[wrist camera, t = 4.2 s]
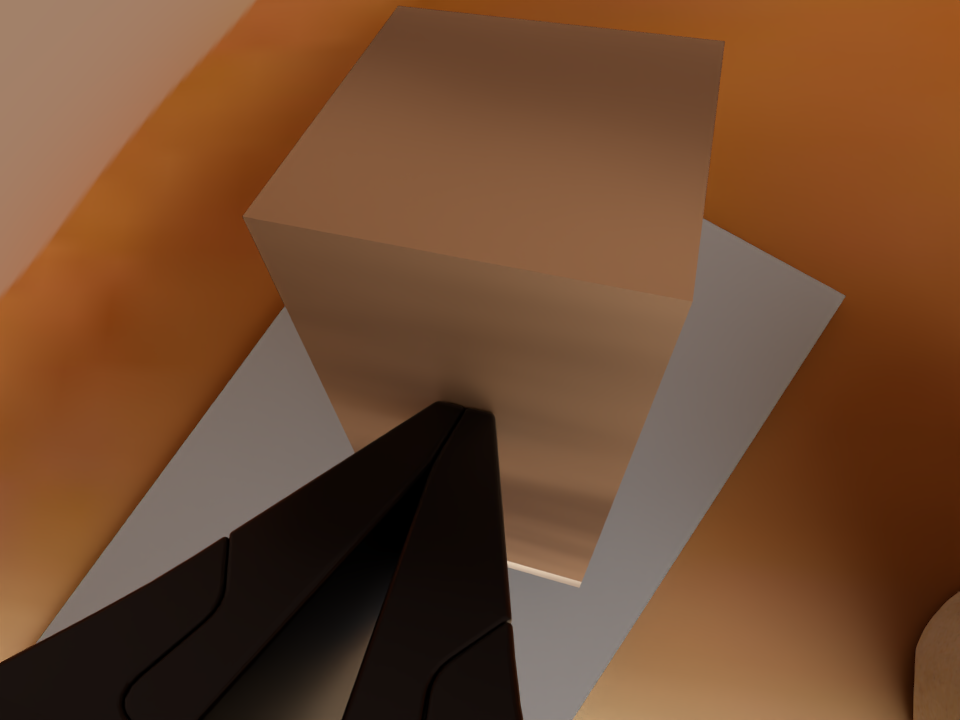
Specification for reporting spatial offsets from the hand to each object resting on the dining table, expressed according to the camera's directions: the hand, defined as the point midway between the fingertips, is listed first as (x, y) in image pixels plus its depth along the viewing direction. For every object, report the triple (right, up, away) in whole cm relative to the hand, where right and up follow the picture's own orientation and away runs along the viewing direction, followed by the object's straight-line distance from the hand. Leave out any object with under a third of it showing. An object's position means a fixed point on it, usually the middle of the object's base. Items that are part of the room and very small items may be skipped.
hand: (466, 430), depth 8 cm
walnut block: (+1, -2, +7) cm, 7 cm away
